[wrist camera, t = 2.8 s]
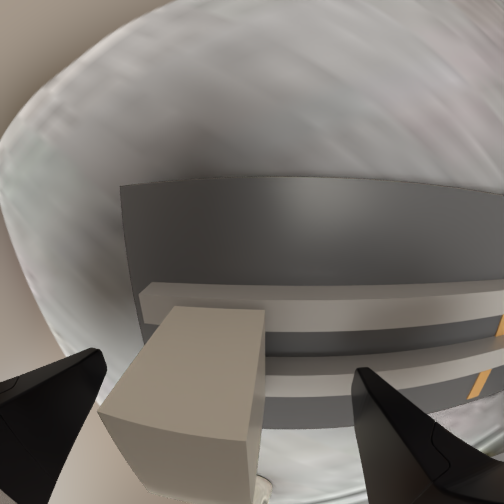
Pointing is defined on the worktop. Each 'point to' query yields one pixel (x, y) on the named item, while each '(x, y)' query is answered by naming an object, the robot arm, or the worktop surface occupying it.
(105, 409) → the fader knob
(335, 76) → the worktop surface
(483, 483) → the robot arm
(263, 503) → the beer glass
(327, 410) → the fader console
